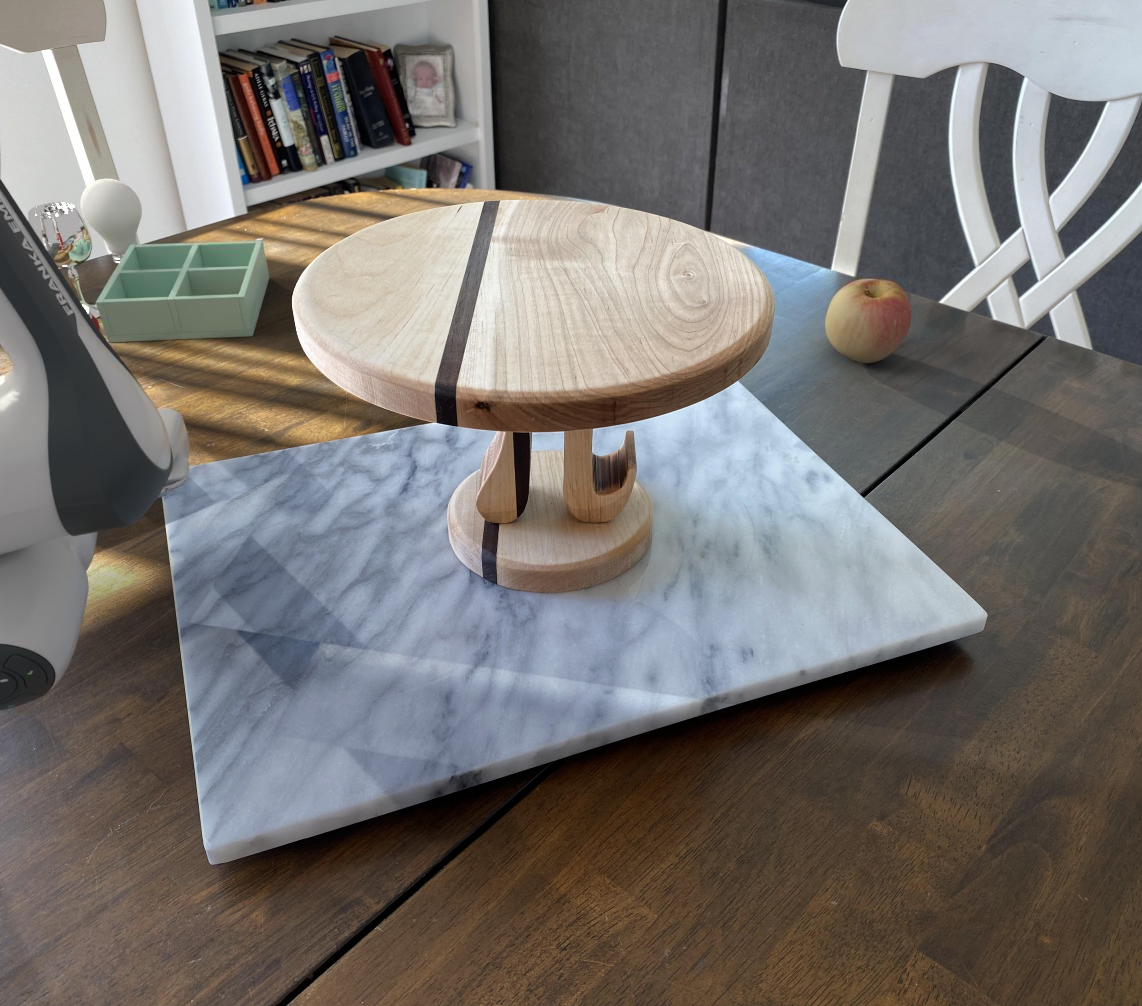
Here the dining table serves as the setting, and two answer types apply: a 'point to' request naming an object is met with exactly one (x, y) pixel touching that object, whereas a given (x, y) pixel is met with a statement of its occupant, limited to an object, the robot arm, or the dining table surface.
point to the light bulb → (112, 214)
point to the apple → (868, 319)
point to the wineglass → (64, 239)
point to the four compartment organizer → (185, 291)
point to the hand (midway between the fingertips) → (55, 409)
